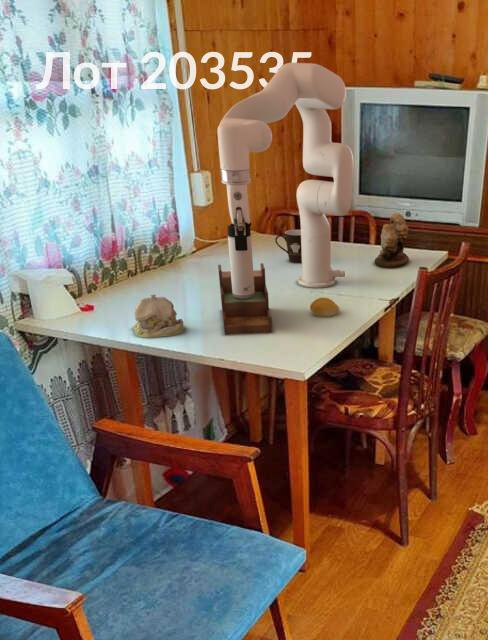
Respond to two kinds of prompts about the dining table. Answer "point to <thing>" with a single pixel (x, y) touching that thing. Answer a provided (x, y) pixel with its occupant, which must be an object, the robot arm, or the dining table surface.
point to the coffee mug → (292, 245)
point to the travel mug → (241, 265)
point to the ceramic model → (156, 318)
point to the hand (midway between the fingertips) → (240, 246)
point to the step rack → (245, 306)
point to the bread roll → (324, 307)
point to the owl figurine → (393, 243)
